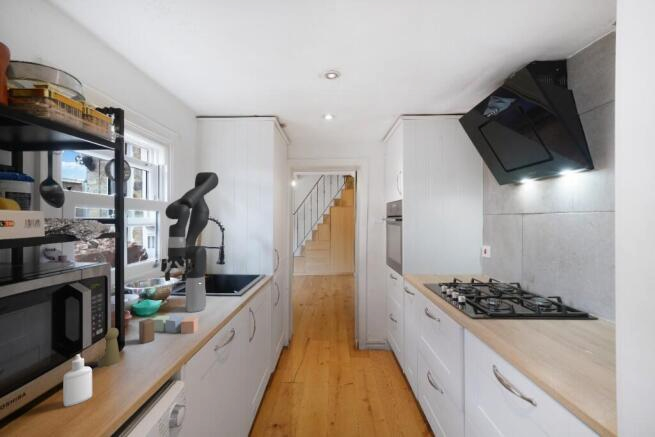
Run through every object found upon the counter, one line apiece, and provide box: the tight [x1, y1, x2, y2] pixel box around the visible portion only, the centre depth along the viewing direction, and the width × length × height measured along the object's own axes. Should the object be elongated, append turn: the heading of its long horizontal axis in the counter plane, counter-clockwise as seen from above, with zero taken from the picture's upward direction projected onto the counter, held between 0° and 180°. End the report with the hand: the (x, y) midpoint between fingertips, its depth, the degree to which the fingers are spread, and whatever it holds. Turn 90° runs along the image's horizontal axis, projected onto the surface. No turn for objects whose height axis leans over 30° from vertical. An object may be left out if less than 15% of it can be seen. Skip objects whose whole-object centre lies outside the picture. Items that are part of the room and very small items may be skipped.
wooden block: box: [138, 318, 155, 344], centre depth 114 cm, size 4×4×8 cm
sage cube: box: [151, 315, 171, 332], centre depth 126 cm, size 5×5×5 cm
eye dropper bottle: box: [62, 353, 93, 407], centre depth 76 cm, size 4×6×12 cm
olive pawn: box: [97, 327, 121, 368], centre depth 97 cm, size 6×6×11 cm
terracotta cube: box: [180, 317, 199, 335], centre depth 124 cm, size 5×5×5 cm
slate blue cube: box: [165, 315, 185, 334], centre depth 125 cm, size 5×5×5 cm
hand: (175, 281), depth 138 cm, fingers open, 8 cm apart
